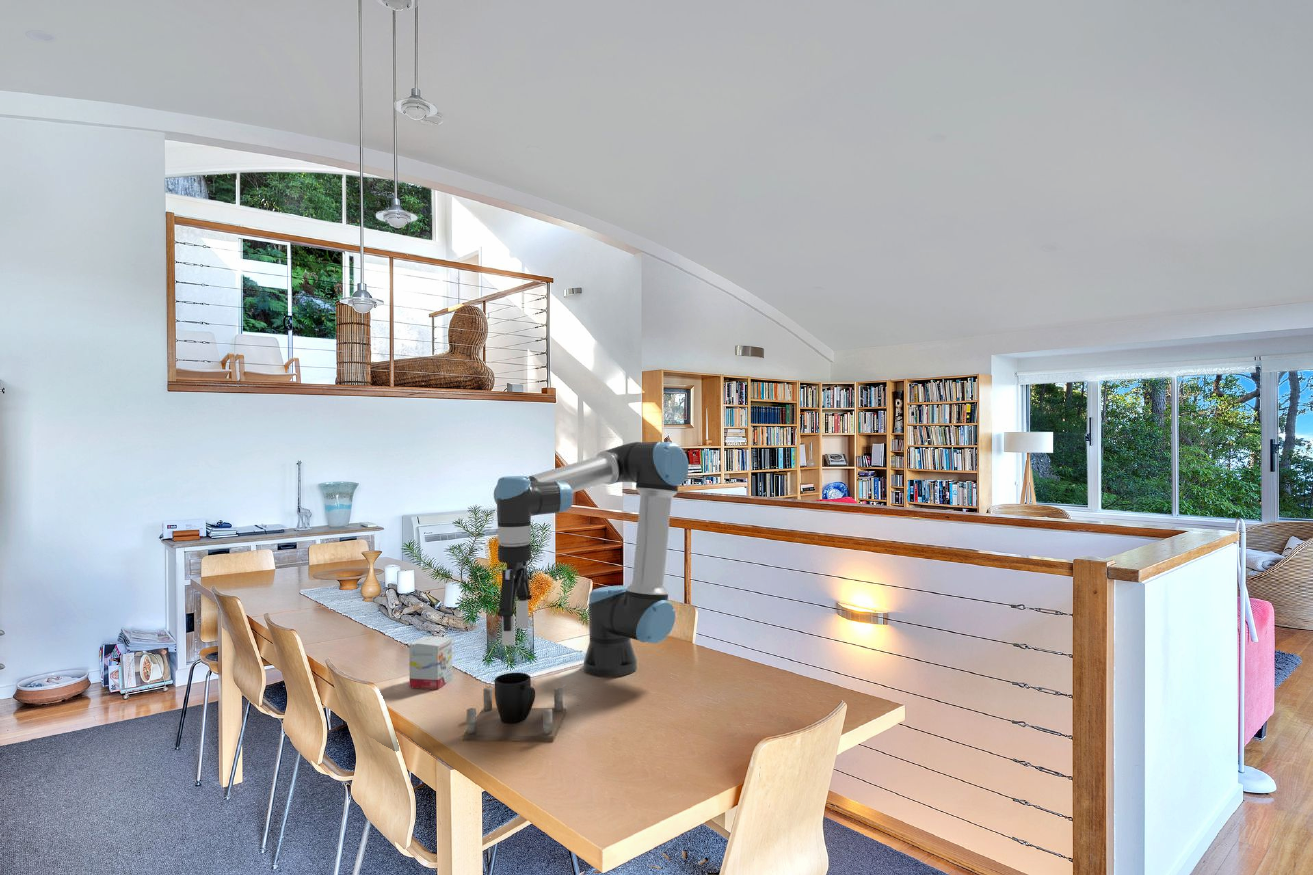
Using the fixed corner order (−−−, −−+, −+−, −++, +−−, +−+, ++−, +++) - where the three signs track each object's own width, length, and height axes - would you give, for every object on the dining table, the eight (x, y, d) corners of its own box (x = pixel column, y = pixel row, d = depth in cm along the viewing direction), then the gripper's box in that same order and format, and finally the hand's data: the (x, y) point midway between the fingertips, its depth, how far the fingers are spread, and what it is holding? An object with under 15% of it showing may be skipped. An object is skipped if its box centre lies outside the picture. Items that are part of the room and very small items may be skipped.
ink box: (438, 689, 193) (437, 645, 193) (408, 688, 195) (407, 643, 195) (453, 679, 202) (453, 635, 202) (424, 677, 204) (424, 634, 203)
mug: (516, 734, 162) (516, 691, 161) (488, 719, 170) (487, 678, 170) (547, 723, 167) (547, 681, 167) (518, 709, 176) (517, 669, 176)
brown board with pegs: (566, 713, 176) (565, 687, 176) (553, 741, 161) (553, 712, 160) (483, 712, 177) (483, 686, 177) (462, 740, 161) (462, 712, 161)
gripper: (511, 535, 181) (512, 621, 182) (483, 553, 157) (484, 652, 157) (541, 535, 181) (542, 621, 181) (517, 552, 156) (519, 652, 156)
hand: (515, 636), depth 169 cm, fingers open, 13 cm apart
